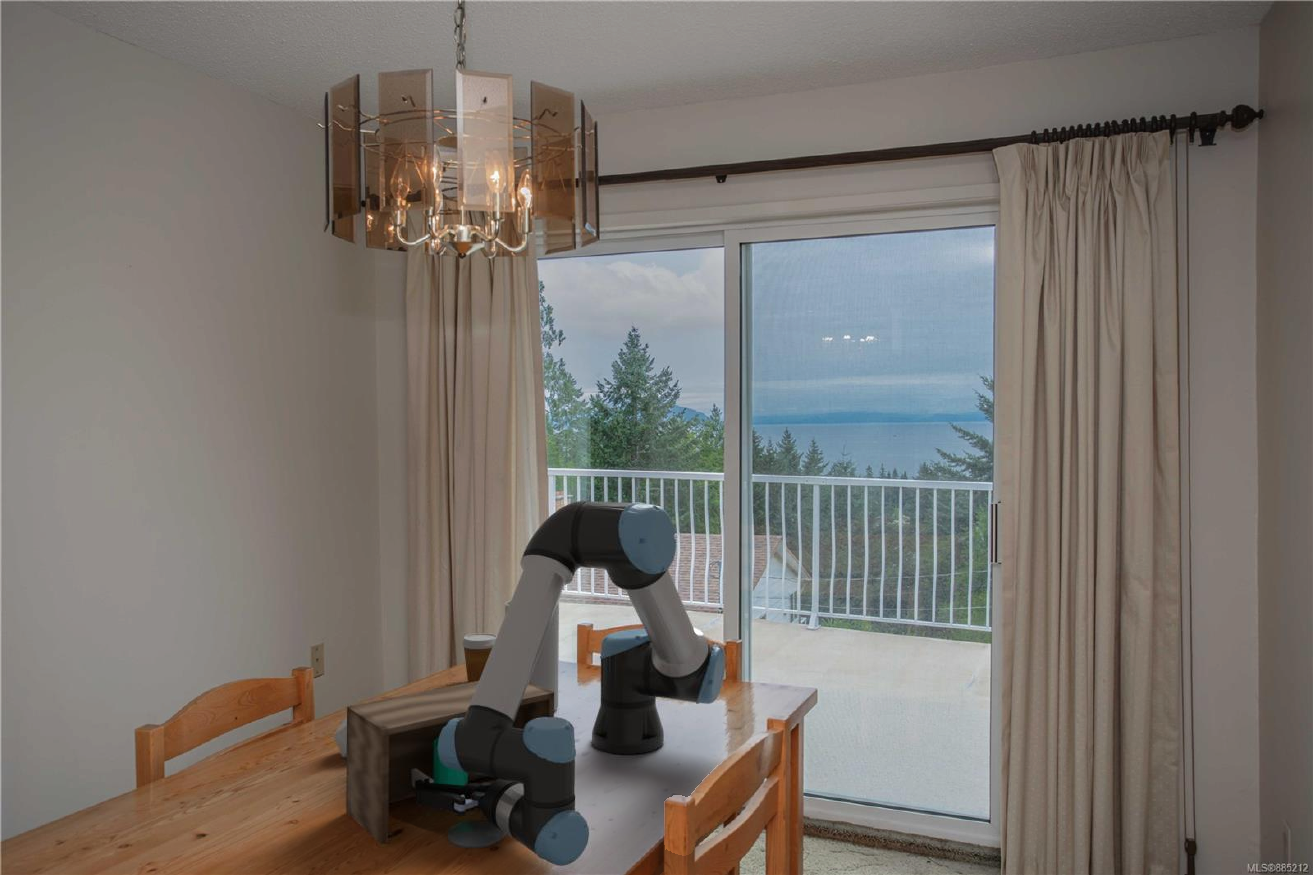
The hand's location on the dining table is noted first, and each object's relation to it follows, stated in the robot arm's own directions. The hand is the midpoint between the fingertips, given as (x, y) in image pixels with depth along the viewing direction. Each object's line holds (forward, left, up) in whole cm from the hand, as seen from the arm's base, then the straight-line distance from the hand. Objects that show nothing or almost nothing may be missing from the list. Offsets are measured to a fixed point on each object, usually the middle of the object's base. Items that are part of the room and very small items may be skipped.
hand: (450, 767), depth 152 cm
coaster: (-8, +11, -6) cm, 15 cm away
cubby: (0, -1, -6) cm, 6 cm away
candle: (0, -1, -7) cm, 7 cm away
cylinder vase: (-2, -53, -7) cm, 53 cm away
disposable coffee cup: (+16, -73, -7) cm, 75 cm away
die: (+26, -21, -7) cm, 34 cm away
